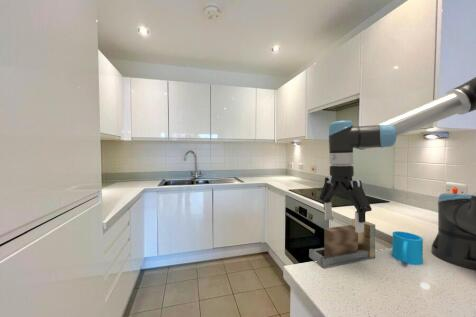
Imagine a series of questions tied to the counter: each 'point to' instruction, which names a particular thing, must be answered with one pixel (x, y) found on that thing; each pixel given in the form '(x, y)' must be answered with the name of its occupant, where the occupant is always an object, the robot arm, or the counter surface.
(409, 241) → the mug
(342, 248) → the door panel
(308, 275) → the counter surface
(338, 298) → the counter surface
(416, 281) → the counter surface
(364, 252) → the door track
